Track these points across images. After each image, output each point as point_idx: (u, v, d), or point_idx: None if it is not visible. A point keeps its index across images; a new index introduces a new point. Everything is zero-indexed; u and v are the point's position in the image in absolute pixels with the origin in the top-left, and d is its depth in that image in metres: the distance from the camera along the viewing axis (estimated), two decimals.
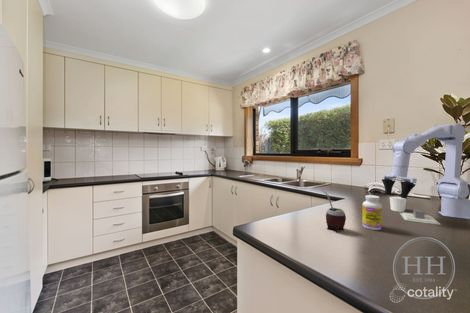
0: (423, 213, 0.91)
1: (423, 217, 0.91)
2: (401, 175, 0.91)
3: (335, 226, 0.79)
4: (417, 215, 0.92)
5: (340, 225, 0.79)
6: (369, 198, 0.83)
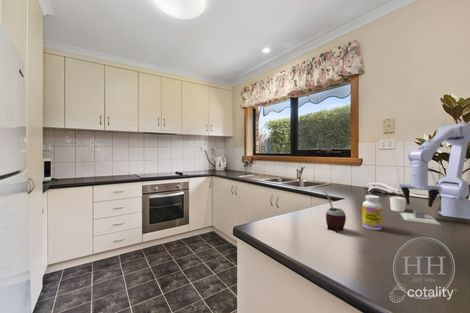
0: (423, 213, 0.91)
1: (423, 217, 0.91)
2: (427, 185, 0.91)
3: (335, 226, 0.79)
4: (417, 215, 0.92)
5: (340, 225, 0.79)
6: (369, 198, 0.83)
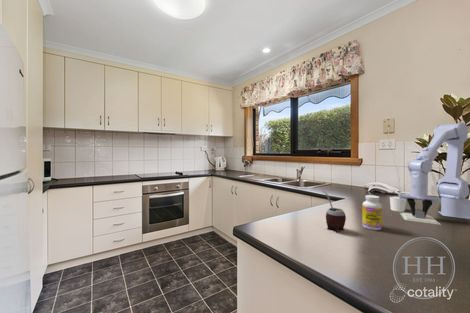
0: (423, 213, 0.91)
1: (423, 217, 0.91)
2: (427, 195, 0.92)
3: (335, 226, 0.79)
4: (417, 215, 0.92)
5: (340, 225, 0.79)
6: (369, 198, 0.83)
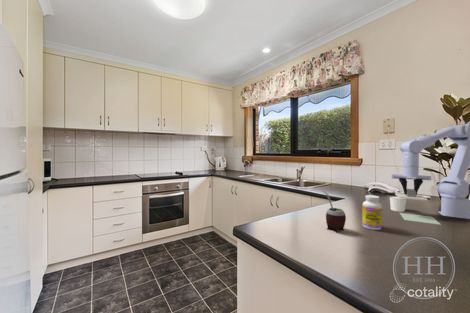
0: (414, 192, 0.96)
1: (414, 195, 0.96)
2: (418, 174, 0.96)
3: (335, 226, 0.79)
4: (409, 194, 0.97)
5: (340, 225, 0.79)
6: (369, 198, 0.83)
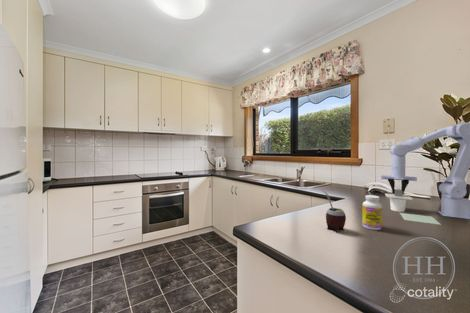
0: (401, 192, 1.04)
1: (401, 195, 1.04)
2: (404, 175, 1.05)
3: (335, 226, 0.79)
4: (396, 194, 1.05)
5: (340, 225, 0.79)
6: (369, 198, 0.83)
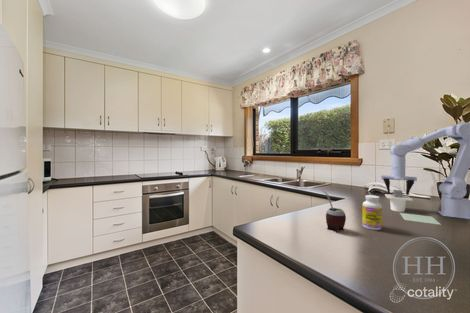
0: (401, 193, 1.04)
1: (401, 196, 1.04)
2: (404, 175, 1.05)
3: (335, 226, 0.79)
4: (396, 195, 1.05)
5: (340, 225, 0.79)
6: (369, 198, 0.83)
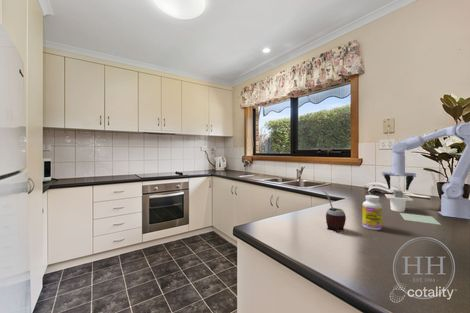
0: (401, 193, 1.04)
1: (401, 196, 1.04)
2: (404, 172, 1.10)
3: (335, 226, 0.79)
4: (396, 195, 1.05)
5: (340, 225, 0.79)
6: (369, 198, 0.83)
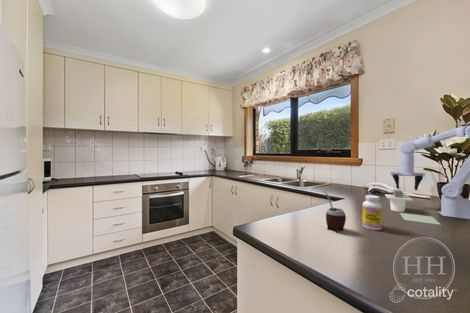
0: (401, 193, 1.04)
1: (401, 196, 1.04)
2: (413, 171, 1.10)
3: (335, 226, 0.79)
4: (396, 195, 1.05)
5: (340, 225, 0.79)
6: (369, 198, 0.83)
